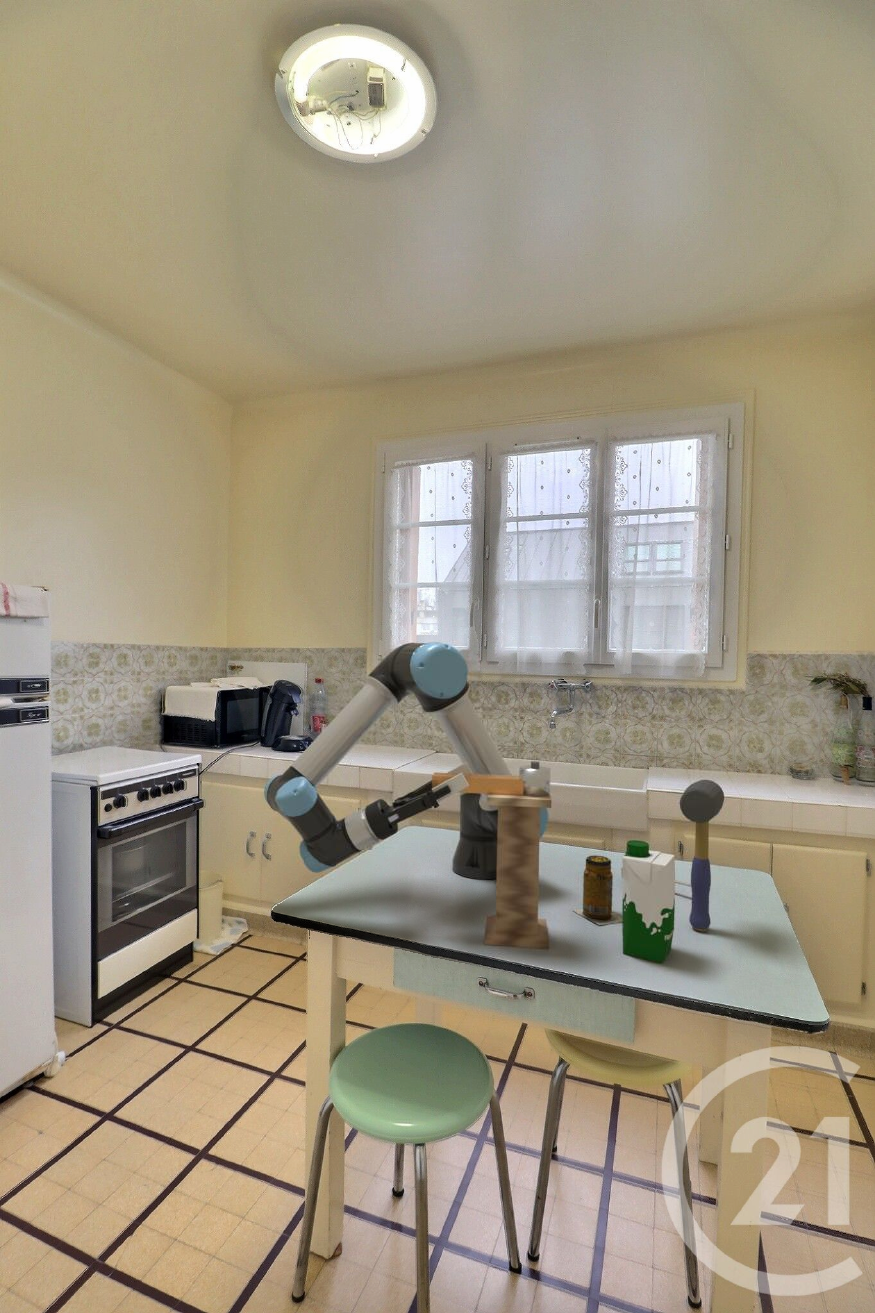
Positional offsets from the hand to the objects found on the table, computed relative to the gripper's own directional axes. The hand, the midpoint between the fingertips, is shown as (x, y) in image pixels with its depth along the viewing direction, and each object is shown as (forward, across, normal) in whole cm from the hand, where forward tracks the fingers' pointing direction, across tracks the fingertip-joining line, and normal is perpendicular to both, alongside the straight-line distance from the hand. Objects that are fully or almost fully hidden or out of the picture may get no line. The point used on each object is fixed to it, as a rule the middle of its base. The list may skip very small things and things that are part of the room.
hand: (467, 773), depth 129 cm
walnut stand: (-7, 0, -32) cm, 33 cm away
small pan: (+22, -31, -49) cm, 62 cm away
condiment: (+8, -12, -41) cm, 44 cm away
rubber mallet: (+25, -9, -51) cm, 58 cm away
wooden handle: (+1, 0, -5) cm, 5 cm away
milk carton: (+14, +3, -45) cm, 47 cm away
